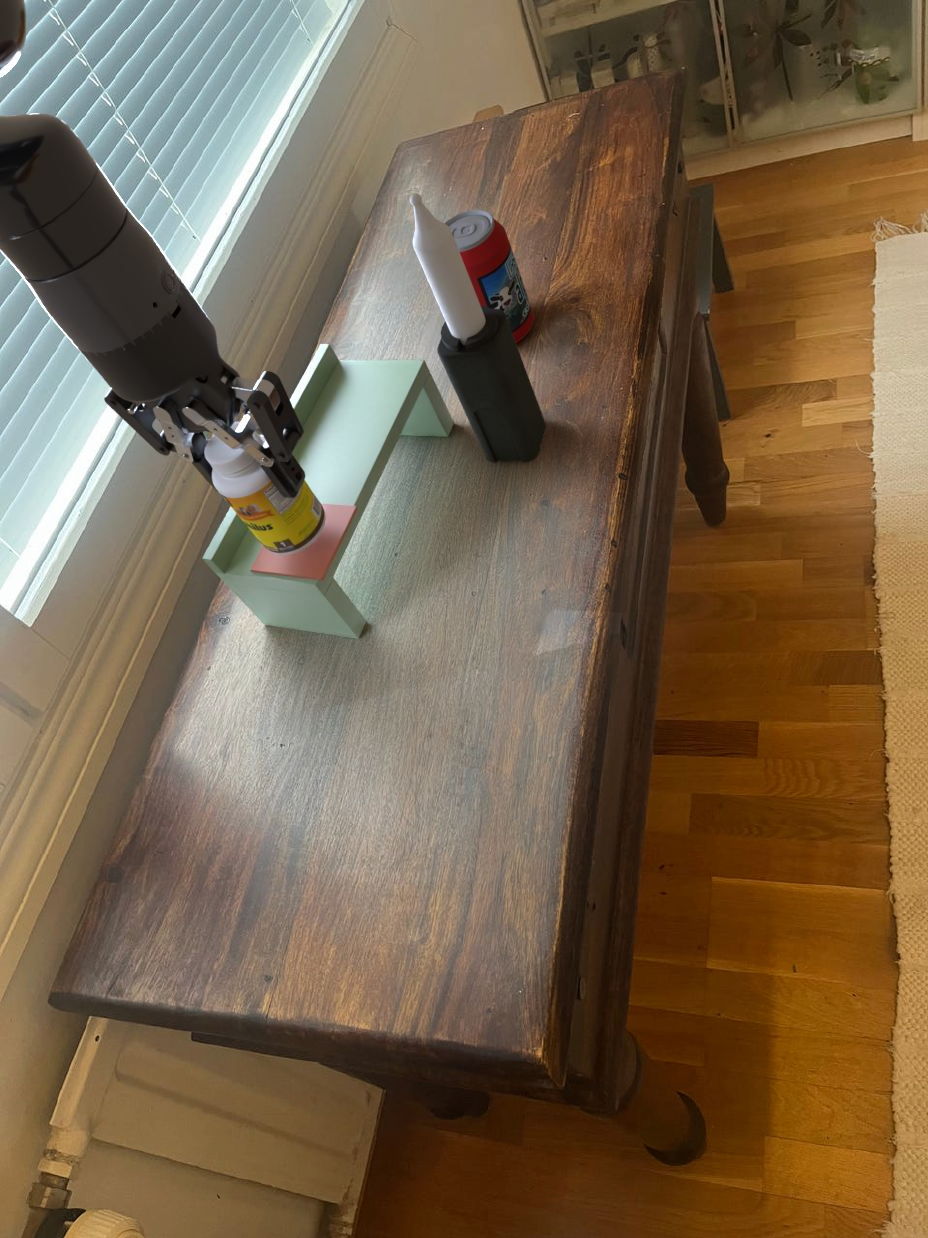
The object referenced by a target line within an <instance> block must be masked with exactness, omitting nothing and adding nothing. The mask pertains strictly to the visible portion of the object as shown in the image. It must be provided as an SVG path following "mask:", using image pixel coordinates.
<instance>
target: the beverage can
mask: <svg viewBox="0 0 928 1238" xmlns="http://www.w3.org/2000/svg"><path fill="white" fill-rule="evenodd" d="M443 223H444V224H446V225H447V226H448V227H449V228H450V230H451V232H452V235H453V237H454V240H455V242H456V245H457V247H458V250H459V253H460V255H461V258H462V260H463V263H464V265H465V268H466V270H467V273H468V275H469V278H470V281H471V283H472V286H473V288H474V291H475V293H476V296H477V298H478V301H479V303H480V305H483V306H487V307H489V308H491V309H500V310H502V311H503V312H504V313H505V315H506V318H507V321H508V323H509V326H510V329H511V331H512V334H513V337H514V339H515V342H516V344H517V343H519V341H521V340H522V339H524V337H526V335H528V333H529V332H530V331H531V330H532V327H533V325H534V321H535V318H534V317H535V315H534V312H533V309H532V306H531V305H532V304H531V303H530V299H529V296H528V293H527V290H526V287H525V283H524V281H523V277H522V275H521V271H520V269H519V265H518V263H517V260H516V257H515V254H514V252H513V248H512V246H511V242H510V240H509V237H508V234H507V231H506V229H505V227H504V226H503V225H502V223H500V222H499V221H498V220H496V219H495V218H494V217H493V215H492V214H491V213H490V212H489V211H487V210H484V209H469V210H466V211H462V212H460V213H457V214H455V215H454V216H452V217H450V218H449V219H448V220H446V221H445V222H443Z"/></svg>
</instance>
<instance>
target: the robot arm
mask: <svg viewBox="0 0 928 1238" xmlns="http://www.w3.org/2000/svg"><path fill="white" fill-rule="evenodd" d="M25 2H26V1H25V0H0V78H1V77H3V76H4V75H6V74H7V73H8V72H10V70H12V68H13V67H14V66H15V65H16V64H17V63H18V62H19V60H20V57H21V55H22V53H23V50H24V48H25V45H26V41H27V36H28V35H27V34H28V14H27V7H26V3H25ZM0 252H1V254H2V255H3V256H4V257H5V258H6V260H8V262H9V263H10V264H11V266H13V268H14V269H15V270H16V271H17V272H18V273H19V275H20V276H21V278H22V279H23V280H24V281H25V283H26V284H27V285H28V287H29V288H30V290H31V291H32V293H33V294H34V296H35V298H36V299H37V302H38V303H39V304H40V306H41V307H42V308H43V309H44V311H45V312H46V313H47V315H48V316H49V317H50V318H51V319H52V321H53V322H54V324H56V326H57V327H58V328H59V329H60V330H61V331H62V332H63V334H64V335H65V336H66V337H67V338H68V339H69V340H70V342H71V343H72V344H73V346H75V348H76V349H77V350H78V352H80V354H81V355H82V356H83V357H84V358H85V359H86V361H87V362H88V363H89V364H90V365H91V367H92V368H93V369H94V370H95V371H96V372H97V373H98V375H99V376H100V378H102V379H103V381H104V382H105V383H106V384H107V386H109V387H110V388H109V390H108V392H107V393H106V395H105V396H104V399H103V400H104V402H105V404H106V405H108V407H109V408H110V409H111V410H113V411H114V412H115V413H116V414H117V415H118V417H120V418H121V419H122V420H123V421H124V422H125V423H126V424H128V426H130V428H132V429H133V430H134V431H135V432H136V433H137V434H138V436H140V437H141V438H142V439H143V440H144V441H145V442H146V443H147V444H149V446H150V447H152V448H153V449H154V450H155V451H156V452H157V453H159V455H162V456H166V457H167V456H170V454H171V453H176V454H177V456H178V457H179V458H180V459H181V460H182V461H184V462H185V463H189V464H192V465H193V466H194V467H195V469H196V470H197V471H198V472H199V474H200V475H201V476H202V477H203V479H205V481H206V482H207V483H208V484H209V485H210V486H211V487H212V488H213V490H215V492H217V493H219V492H218V491H217V489H216V488H215V486H214V484H213V481H212V470H213V468H212V466H211V465H210V463H209V462H208V461H207V459H206V458H205V454H204V451H205V446H206V444H207V442H208V440H209V439H208V437H209V433H212V435H213V434H214V435H215V436H217V437H218V438H219V439H220V440H222V441H223V442H224V443H225V444H227V445H228V446H229V447H230V448H232V449H235V450H236V449H239V448H241V449H243V450H244V451H246V452H247V453H248V454H249V455H250V456H252V457H253V458H254V459H255V460H257V461H258V462H259V463H260V464H262V465H261V468H262V469H263V470H264V472H265V473H266V474H267V476H268V477H269V478H270V480H271V481H272V482H273V484H274V485H275V486H276V488H277V489H278V490H279V492H280V493H281V494H282V496H283V497H285V498H295V497H296V496H297V494H298V492H299V490H300V488H301V486H302V484H303V482H304V479H305V477H306V476H305V472H304V470H303V469H302V467H301V466H300V465H299V463H298V462H297V460H296V459H295V457H294V456H293V455H292V453H293V451H294V449H295V447H296V445H297V443H298V442H299V440H300V439H301V437H302V436H303V434H304V430H303V428H302V426H301V424H300V421H299V419H298V417H297V415H296V413H295V410H294V408H293V406H292V404H291V402H290V397H289V395H288V393H287V391H286V389H285V387H284V384H283V381H282V380H281V378H280V376H278V375H277V374H276V373H275V372H273V371H271V370H265V371H263V372H262V374H261V375H260V378H259V379H253V378H248V377H241V375H240V374H239V372H238V371H237V370H236V369H235V368H234V367H232V366H231V365H230V364H228V363H227V362H226V361H225V359H223V358H222V356H221V355H220V352H219V345H218V337H217V332H216V331H217V330H216V328H215V325H214V324H213V322H212V321H211V319H210V318H209V317H208V315H207V313H206V312H205V310H204V309H203V308H202V306H201V305H200V304H199V302H198V300H197V298H195V296H194V294H193V293H192V292H191V290H190V289H189V287H188V286H187V284H186V283H185V282H184V280H183V278H182V277H181V275H180V274H179V273H178V270H176V268H175V267H174V265H173V264H172V263H171V261H170V259H169V258H168V256H167V255H166V254H165V252H164V251H163V249H162V248H161V246H160V244H158V242H157V240H156V239H155V238H154V237H153V235H152V234H151V233H150V232H149V231H148V229H147V228H146V227H145V226H144V225H143V224H142V223H141V222H140V221H139V220H138V218H137V217H136V216H135V215H134V214H133V213H132V211H131V210H130V209H129V208H128V206H127V205H126V204H125V202H124V200H123V199H122V197H121V196H120V195H119V193H118V192H117V190H116V189H115V187H114V186H113V184H112V183H111V182H110V180H109V178H108V177H107V175H106V174H105V173H104V171H103V170H102V168H101V167H100V166H99V164H98V162H97V161H96V160H95V159H94V157H93V156H92V154H91V152H89V150H88V148H87V147H86V146H85V144H84V143H83V142H82V140H81V139H80V137H79V136H78V135H77V134H76V132H75V131H74V130H73V129H72V128H71V126H70V125H68V124H67V123H66V122H65V121H64V120H62V119H61V118H59V117H58V116H55V115H52V114H49V113H24V114H15V115H0ZM241 410H242V412H243V418H242V419H241V421H240V422H241V423H240V425H239V426H238V428H237V430H236V431H234V430H233V429H232V428H231V426H232V425H233V423H234V422H236V420H237V418H238V416H239V414H240V412H241ZM156 420H157V421H159V423H160V425H161V428H162V432H161V433H160V434H159V432H158V431H157V430H156V429H155V428H154V426H153V425H154V422H155V421H156ZM256 430H257V431H259V432H260V433H261V435H263V436H264V438H265V441H264V443H263V445H261V444H259V443H258V442H257V441H256V440H255V439H254V438H253V433H254V431H256ZM219 494H220V493H219Z"/></svg>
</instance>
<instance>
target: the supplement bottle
mask: <svg viewBox="0 0 928 1238" xmlns="http://www.w3.org/2000/svg"><path fill="white" fill-rule="evenodd" d="M240 423H241V421H234V423H233V425H232V426H231V428H232V429H233V430H234V431H236V430H237V428H238V426H239V425H240ZM253 438H254V439H255V440H256V441H257V442H258V443H259V444H261V445H263V443H264V441H265V438H264V436H263V434H259V433H257V431H256V430H255V431H254V433H253ZM207 440H208V442H207V444H206V446H205V451H204V454H205V458H206V459H207V461H208V462H209V463H210V465H211V466H212V468H213V470H212V481H213V484H214V486H215V488H216V489H217V491H218V492H219V494H220V496H221V497H222V498H223V499H224V501H225V502H226V503H227V504H228V505H229V507H232V509H233V510H234V511H235V512H236V513H237V515H238V516H239V517H240V518H241V519H242V521H243V522H244V523H245V524H246V526H247V527H248V528H249V529H250V530H251V531H252V533H253V534H254V535H255V536H256V538H257V539H258V540H259V541H260V542H261V544H262V545H263V546H264V547H265V548H266V549H267V550H268V551H270V552H272V553H274V554H278V555H291V554H295V553H298V552H300V551H302V550H304V549H306V548H307V547H309V546H310V545H311V544H312V543H314V542H315V541H316V539H317V538H318V537H319V536H320V534H321V532H322V530H323V528H324V525H325V519H326V516H325V511H324V508H323V506H322V505H321V503H320V502H319V500H318V499H317V497H316V496H315V494H314V493H313V491H312V490H311V489H310V487H309V486H308V484H307V483H306V481H305V480H304V482H303V484H302V486H301V488H300V490H299V492H298V494H297V496H296V497H295V498H285V497H283V496H282V494H281V493H280V492H279V490H278V489H277V488H276V486H275V485H274V484H273V482H272V481H271V480H270V478H269V477H268V476H267V474H266V473H265V472H264V470H263V469H262V468H261V465H262V464H260V463H259V462H258V461H257V460H255V459H254V458H253V457H252V456H250V455H249V454H248V453H247V452H246V451H244V450H243V449H241V448H239V449H236V450H235V449H232V448H230V447H229V446H228V445H227V444H225V443H224V442H223V441H222V440H220V439H219V438H218V437H217V436H215V435H214V434H213V433H212V435H211V436H210V437H209V439H207ZM217 491H216V492H217ZM218 492H217V493H218Z"/></svg>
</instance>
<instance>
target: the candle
mask: <svg viewBox="0 0 928 1238" xmlns="http://www.w3.org/2000/svg"><path fill="white" fill-rule="evenodd" d="M409 203H410V204H411V205H412V206H413V215H414V226H415V229H414V234H413V238H412V247H413V250H414V252H415V254H416V256H417V259H418V261H419V263H420V266H421V268H422V270H423V272H424V275H425V278H426V279H427V282H428V284H429V286H430V288H431V291H432V293H433V296H434V298H435V300H436V302H437V304H438V307H439V309H440V311H441V314H442V316H443V318H444V320H445V321H444V322H443V324H442V326H441V329H440V340H439V342H438V345H437V349H436V351H437V352H436V353H437V355H438V357H439V360H440V362H441V363H442V365H443V369H444V371H445V372H446V374H447V376H448V379H449V381H450V383H451V385H452V388H453V389H454V392H455V394H456V396H457V398H458V400H459V402H460V405H461V407H462V409H463V411H464V413H465V416H466V418H467V420H468V422H469V425H470V427H471V428H472V430H473V432H474V435H475V437H476V439H477V441H478V444H479V446H480V448H481V449H482V452H483V455H484V456H485V459H486V460H487V461H488V462H489V463H492V464H497V463H498V462H522V463H528V462H531V461H533V460H534V459H535V458H537V456H538V455H539V453H540V450H541V448H542V444H543V440H544V438H545V437H544V436H545V433H546V429H547V424H546V420H545V419H544V415H543V412H542V410H541V408H540V404H539V402H538V399H537V397H536V394H535V391H534V388H533V386H532V385H533V384H532V383H531V380H530V378H529V375H528V372H527V369H526V367H525V364H524V361H523V358H522V356H521V353H520V350H519V348H518V345H517V343H516V342H515V339H514V337H513V334H512V331H511V329H510V326H509V323H508V321H507V318H506V315H505V313H504V312H503V311H502V310H500V309H491V308H489V307H487V306H483V305H480V303H479V301H478V298H477V296H476V293H475V291H474V288H473V286H472V283H471V281H470V278H469V275H468V273H467V270H466V268H465V265H464V263H463V260H462V258H461V255H460V253H459V250H458V247H457V245H456V242H455V240H454V237H453V235H452V232H451V230H450V228H449V227H448V226H447V225H446V224H444V223H445V222H443V221H441V220H439V219H437V218H436V217H435V215H433V214H432V212H431V211H430V210H429V208H427V206H426V205H425V204H424V203H423V197H422V196H421V194H419V193H415V192H414V193H412V194H411V195H410V197H409Z"/></svg>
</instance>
